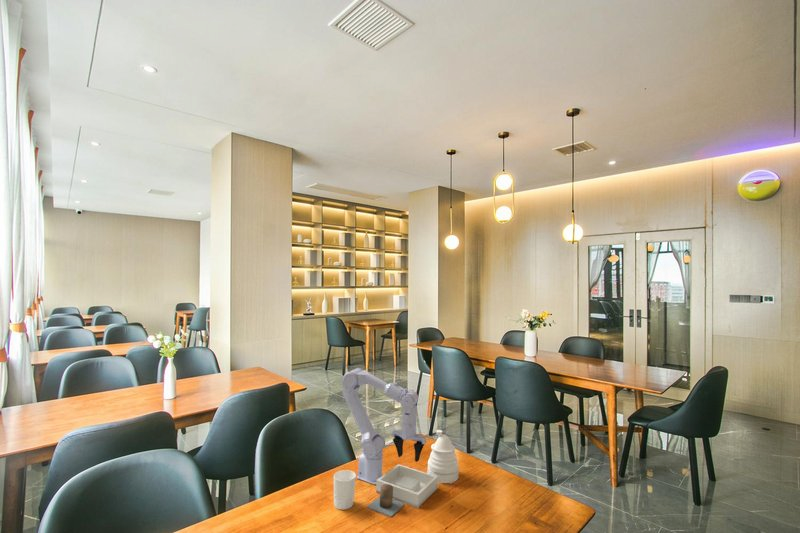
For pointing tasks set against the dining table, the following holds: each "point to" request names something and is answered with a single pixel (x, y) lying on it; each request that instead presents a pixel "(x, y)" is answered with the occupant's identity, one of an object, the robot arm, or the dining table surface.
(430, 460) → the honey pot
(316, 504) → the dining table surface
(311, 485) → the dining table surface
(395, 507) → the slate pad
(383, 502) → the walnut cylinder
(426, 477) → the grey crate
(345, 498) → the white cup
